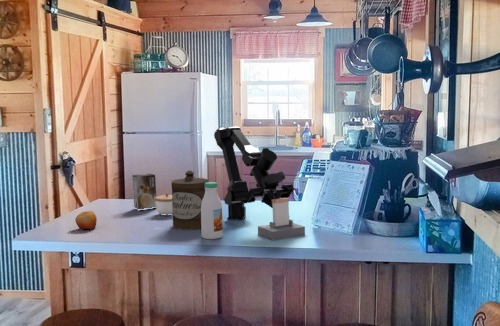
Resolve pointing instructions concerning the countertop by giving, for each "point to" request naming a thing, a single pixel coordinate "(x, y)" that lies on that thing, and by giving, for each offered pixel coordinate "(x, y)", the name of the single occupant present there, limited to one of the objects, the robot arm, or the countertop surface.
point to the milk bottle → (211, 213)
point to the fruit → (86, 220)
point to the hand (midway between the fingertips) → (279, 211)
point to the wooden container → (187, 201)
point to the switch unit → (281, 231)
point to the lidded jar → (164, 204)
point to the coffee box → (144, 191)
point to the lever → (280, 212)
